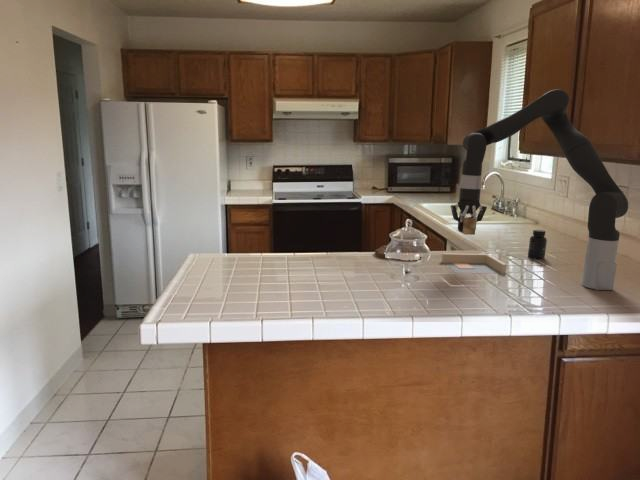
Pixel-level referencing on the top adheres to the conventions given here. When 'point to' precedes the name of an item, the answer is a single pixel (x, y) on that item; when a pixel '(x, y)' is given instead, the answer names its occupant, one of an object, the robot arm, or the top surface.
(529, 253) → the supplement bottle
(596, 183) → the robot arm
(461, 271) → the tray
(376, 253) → the brown rough-edged lump
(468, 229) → the oak block
